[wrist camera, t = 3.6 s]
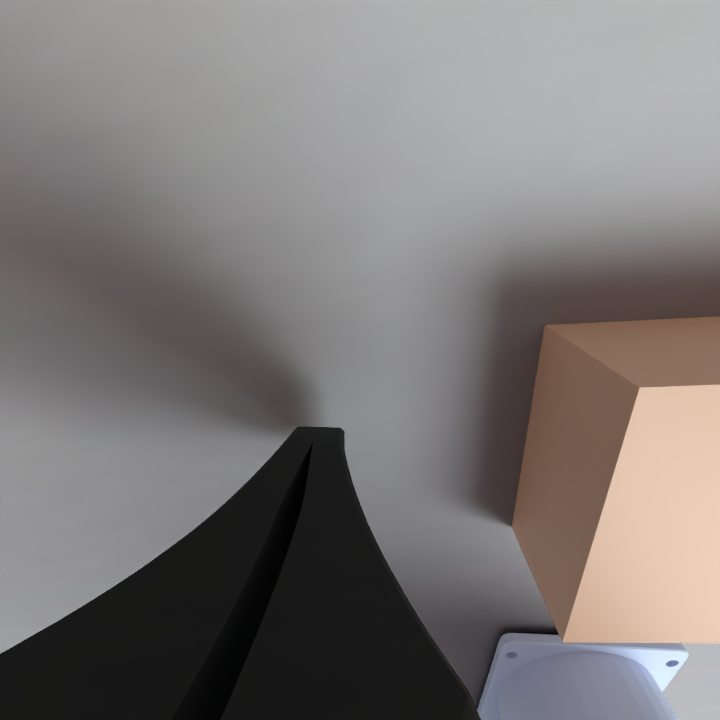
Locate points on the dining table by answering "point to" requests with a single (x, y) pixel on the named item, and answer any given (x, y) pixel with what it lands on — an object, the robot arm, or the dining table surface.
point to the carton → (625, 481)
